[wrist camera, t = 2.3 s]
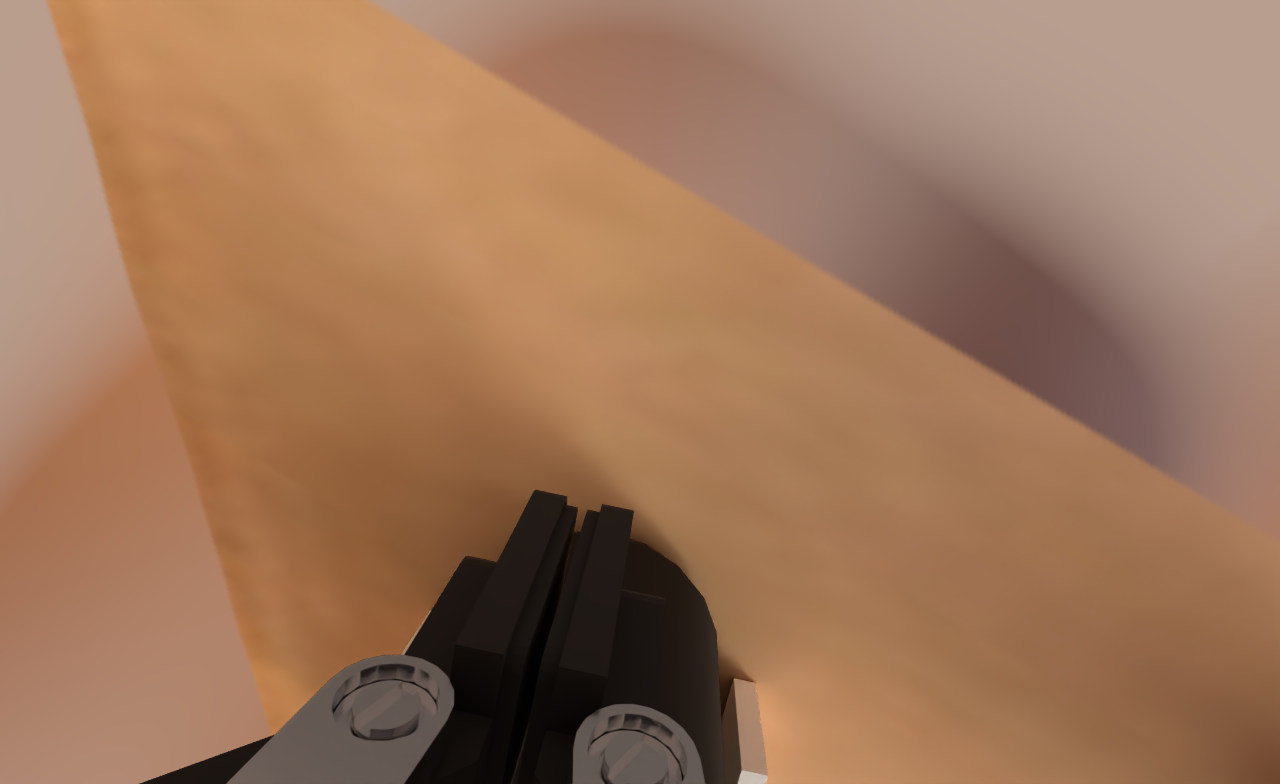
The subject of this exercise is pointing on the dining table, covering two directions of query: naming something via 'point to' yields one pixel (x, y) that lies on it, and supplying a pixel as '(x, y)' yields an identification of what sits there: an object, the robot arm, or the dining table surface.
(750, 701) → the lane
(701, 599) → the coffee jar
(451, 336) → the dining table surface
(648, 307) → the dining table surface
